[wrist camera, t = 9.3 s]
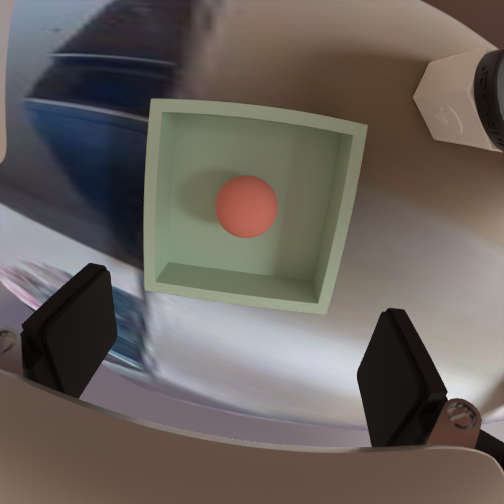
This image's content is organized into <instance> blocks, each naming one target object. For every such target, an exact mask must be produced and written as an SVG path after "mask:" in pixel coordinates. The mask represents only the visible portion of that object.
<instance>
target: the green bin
mask: <svg viewBox="0 0 504 504" xmlns="http://www.w3.org/2000/svg"><path fill="white" fill-rule="evenodd" d="M367 128H368V125H365V124H361V123H357V122H352V121H348V120H343V119H338V118H333V117H328V116H323V115H318V114H312V113H307V112H301V111H295V110H288V109H281V108H274V107H267V106H259V105H250V104H241V103H230V102H218V101H204V100H185V99H151V104H150V113H149V124H148V136H147V149H146V165H145V187H144V282H145V290H146V291H152V292H158V293H164V294H171V295H177V296H183V297H190V298H196V299H203V300H210V301H217V302H224V303H231V304H239V305H246V306H254V307H262V308H270V309H279V310H287V311H297V312H306V313H316V314H327V311H328V307H329V304H330V300H331V297H332V293H333V289H334V285H335V282H336V278H337V274H338V270H339V266H340V262H341V258H342V254H343V250H344V246H345V241H346V237H347V233H348V228H349V224H350V219H351V215H352V210H353V205H354V200H355V196H356V191H357V185H358V180H359V175H360V170H361V164H362V158H363V153H364V147H365V141H366V134H367ZM246 175H247V176H254V177H258V178H260V179H262V180H264V181H265V182H266V183H267V184H269V185H270V187H271V188H272V189H273V191H274V193H275V195H276V198H277V202H278V212H277V216H276V219H275V221H274V223H273V224H272V226H271V227H270V228H269V229H268V230H267V231H266V232H264V233H263V234H261V235H259V236H256V237H252V238H241V237H237V236H234V235H232V234H230V233H229V232H227V231H226V230H225V229H224V228H223V227H222V226H221V224H220V223H219V221H218V219H217V216H216V212H215V202H216V197H217V195H218V193H219V191H220V189H221V188H222V187H223V185H224V184H226V183H227V182H228V181H230V180H231V179H233V178H235V177H238V176H246Z"/></svg>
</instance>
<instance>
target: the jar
mask: <svg viewBox="0 0 504 504" xmlns="http://www.w3.org/2000/svg"><path fill="white" fill-rule="evenodd" d="M413 99H414V101H415V103H416V105H417V107H418V109H419V111H420V113H421V114H422V116H423V118H424V120H425V122H426V124H427V127H428V129H429V131H430V133H431V135H432V137H433V139H434V140H438V141H444V142H450V143H456V144H462V145H467V146H472V147H477V148H482V149H487V150H492V151H498V152H504V49H500V50H495V51H494V50H492V49H489V48H486V47H483V48H479V49H475V50H471V51H467V52H463V53H460V54H456V55H452V56H449V57H445V58H442V59H439V60H435V61H432V62H430V63H429V64H428V66H427V68H426V70H425V73H424V75H423V77H422V79H421V81H420V83H419V85H418V87H417V89H416V92H415V94H414V96H413Z"/></svg>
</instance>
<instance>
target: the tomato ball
mask: <svg viewBox="0 0 504 504" xmlns="http://www.w3.org/2000/svg"><path fill="white" fill-rule="evenodd" d="M215 212H216V216H217V219H218V221H219V223H220V224H221V226H222V227H223V228H224V229H225V230H226V231H227V232H229V233H230V234H232V235H234V236H237V237H241V238H252V237H256V236H259V235H261V234H263V233H264V232H266V231H267V230H268V229H269V228H270V227H271V226H272V224H273V223H274V221H275V219H276V216H277V212H278V202H277V198H276V195H275V193H274V191H273V189H272V188H271V187H270V185H269V184H267V183H266V182H265V181H264V180H262V179H260V178H258V177H254V176H247V175H246V176H238V177H235V178H233V179H231V180H230V181H228V182H227V183H226V184H224V185H223V187H222V188H221V189H220V191H219V193H218V195H217V197H216V202H215Z"/></svg>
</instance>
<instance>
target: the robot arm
mask: <svg viewBox="0 0 504 504" xmlns="http://www.w3.org/2000/svg"><path fill="white" fill-rule="evenodd" d="M22 328H23V332H22V333H21V334H20V333H19V332H18V331H17V330H16V329H14V328H10V327H3V328H0V504H504V443H503V442H502V441H500V440H498V439H496V438H495V437H493V436H491V435H489V434H488V433H486V432H485V431H483V430H481V429H480V428H481V423H482V419H481V415H480V413H479V411H478V409H477V408H476V407H475V406H474V405H473V404H471V403H470V402H468V401H466V400H464V399H459V398H454V399H450V400H449V401H448V399H447V397H446V394H447V389H446V387H445V385H444V383H443V381H442V379H441V377H440V375H439V373H438V371H437V369H436V367H435V365H434V363H433V361H432V359H431V357H430V355H429V353H428V352H427V350H426V348H425V346H424V344H423V342H422V340H421V338H420V337H419V335H418V333H417V331H416V329H415V328H414V326H413V324H412V322H411V320H410V319H409V317H408V315H407V313H406V312H405V310H403V309H395V308H388V309H387V310H386V312H382V313H381V315H380V317H379V320H378V322H377V325H376V327H375V330H374V332H373V335H372V337H371V340H370V342H369V345H368V347H367V350H366V352H365V354H364V357H363V359H362V361H361V364H360V366H359V368H358V371H357V381H358V385H359V389H360V394H361V398H362V403H363V407H364V412H365V416H366V421H367V426H368V430H369V435H370V440H371V445H372V447H349V448H348V447H310V446H293V445H281V444H270V443H261V442H252V441H245V440H237V439H231V438H224V437H218V436H212V435H207V434H202V433H197V432H192V431H186V430H182V429H178V428H173V427H169V426H165V425H160V424H157V423H153V422H149V421H145V420H142V419H138V418H134V417H131V416H127V415H124V414H120V413H118V412H114V411H111V410H108V409H104V408H102V407H99V406H96V405H93V404H90V403H87V402H85V401H82V400H79V397H80V396H81V394H82V393H83V391H84V389H85V388H86V386H87V385H88V383H89V381H90V380H91V378H92V377H93V375H94V374H95V372H96V370H97V369H98V367H99V366H100V364H101V363H102V361H103V360H104V358H105V356H106V355H107V353H108V352H109V350H110V349H111V347H112V346H113V344H114V343H115V341H116V339H117V327H116V320H115V312H114V304H113V295H112V286H111V276H110V272H109V271H108V270H107V269H106V267H105V266H104V265H99V264H93V263H89V264H88V265H86V266H85V267H84V268H83V269H82V270H81V271H79V272H78V273H77V274H76V275H75V276H74V277H72V278H71V279H70V280H69V281H68V282H67V283H66V284H65V285H63V286H62V287H61V288H60V289H59V290H58V291H57V292H56V293H55V294H54V295H52V296H51V297H50V298H49V299H48V300H47V301H46V302H45V303H44V304H43V305H42V306H41V307H40V308H38V309H37V310H36V311H35V312H34V313H33V314H32V315H31V316H30V317H29V318H28V319H27V320H26V321H25V322H24V323H23V324H22Z"/></svg>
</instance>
